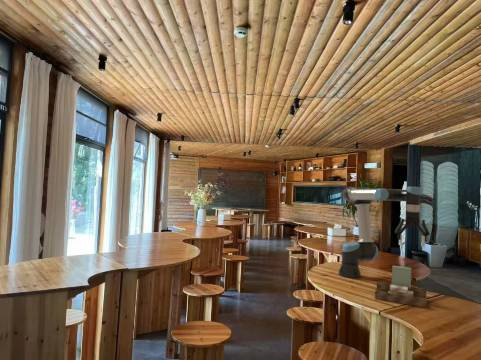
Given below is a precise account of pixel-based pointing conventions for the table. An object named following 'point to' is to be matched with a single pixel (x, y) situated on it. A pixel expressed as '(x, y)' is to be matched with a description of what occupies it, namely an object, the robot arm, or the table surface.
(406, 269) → the grey-green flat block
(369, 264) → the table surface
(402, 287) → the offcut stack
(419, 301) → the rack
